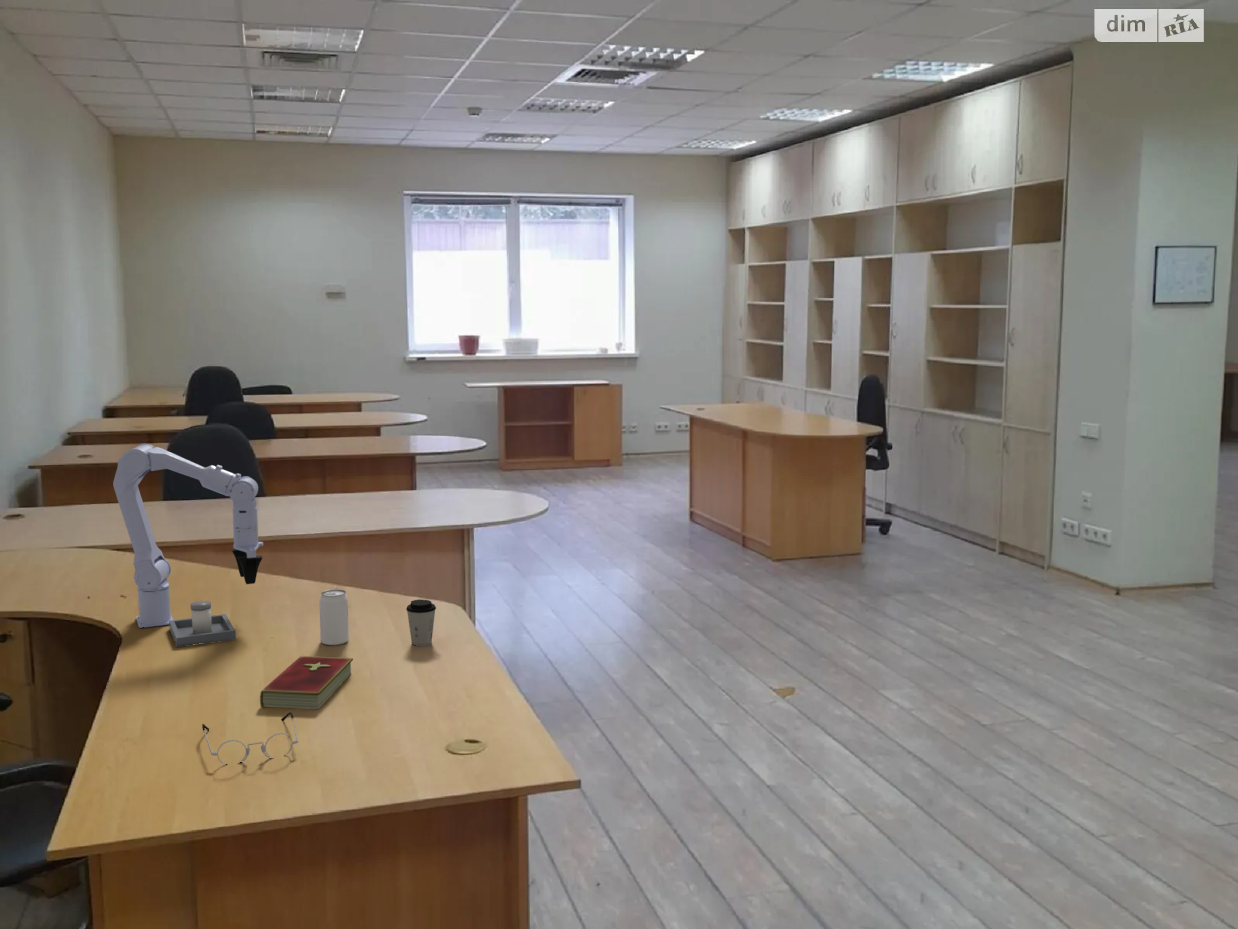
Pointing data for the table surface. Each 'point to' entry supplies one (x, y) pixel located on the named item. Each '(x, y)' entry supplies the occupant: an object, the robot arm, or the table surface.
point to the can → (334, 617)
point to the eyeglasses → (253, 743)
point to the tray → (220, 632)
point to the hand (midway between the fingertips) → (247, 580)
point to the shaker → (201, 617)
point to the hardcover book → (306, 683)
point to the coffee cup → (421, 621)
